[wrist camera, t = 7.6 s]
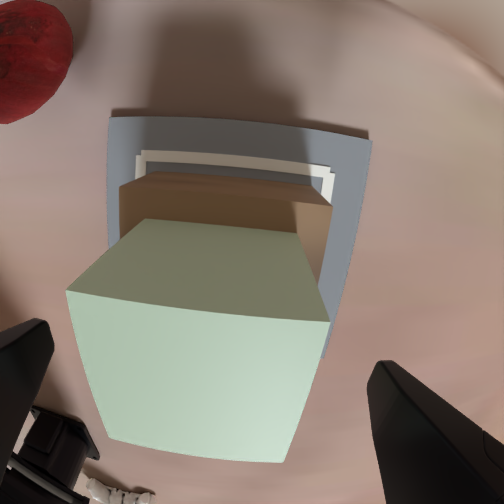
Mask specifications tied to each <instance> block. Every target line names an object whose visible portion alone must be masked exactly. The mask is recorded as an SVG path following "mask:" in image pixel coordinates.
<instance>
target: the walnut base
mask: <svg viewBox="0 0 504 504" xmlns="http://www.w3.org/2000/svg"><path fill="white" fill-rule="evenodd" d="M332 211H333V206H332V205H331V204H330V203H329V202H328V201H327V200H326V199H325V198H324V197H323V196H322V195H321V194H320V193H319V192H318V191H317V190H316V189H315V188H314V187H313V186H309V185H302V184H294V183H286V182H278V181H269V180H260V179H251V178H241V177H231V176H219V175H207V174H194V173H179V172H162V171H154V172H152V173H150V174H147V175H145V176H142V177H140V178H138V179H135V180H133V181H131V182H128V183H126V184H124V185H121V186H119V232H120V239H121V238H123V237H124V236H125V235H126V234H127V233H128V232H130V231H131V230H132V229H133V228H134V227H135V226H137V225H138V224H139V223H140V222H141V221H143V220H144V219H145V218H146V219H157V220H169V221H180V222H191V223H202V224H213V225H223V226H233V227H243V228H253V229H262V230H272V231H281V232H290V233H297V234H298V237H299V239H300V242H301V244H302V247H303V249H304V252H305V254H306V257H307V260H308V262H309V265H310V267H311V270H312V273H313V275H314V278H315V281H316V283H317V286H318V282H319V278H320V273H321V268H322V264H323V259H324V254H325V249H326V243H327V238H328V233H329V228H330V222H331V217H332Z"/></svg>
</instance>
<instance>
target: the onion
mask: <svg viewBox="0 0 504 504" xmlns="http://www.w3.org/2000/svg"><path fill="white" fill-rule="evenodd" d="M72 57H73V35H72V31H71V28H70V26H69V24H68V22H67V21H66V19H65V17H64V16H63V14H62V13H61V12H60V11H59V10H58V9H57V8H56V7H55V6H52V5H49V4H46V3H43V2H40V1H36V0H14V1H10V2H7V3H4V4H1V5H0V124H9V123H11V122H14V121H17V120H19V119H22V118H24V117H26V116H28V115H30V114H33V113H34V112H35V111H36V110H38V109H39V108H40V107H41V106H42V105H43V104H44V103H45V102H47V101H48V100H49V99H50V98H51V97H52V96H53V95H54V94H55V92H56V91H57V89H58V88H59V86H60V85H61V83H62V81H63V80H64V78H65V77H66V74H67V71H68V68H69V65H70V63H71V60H72Z"/></svg>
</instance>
